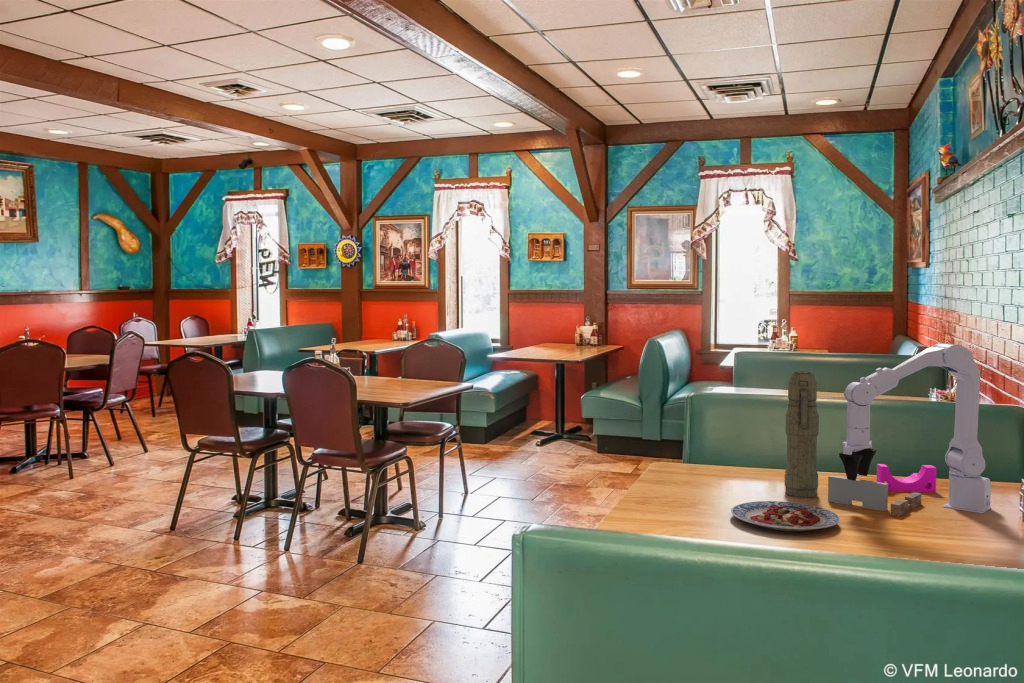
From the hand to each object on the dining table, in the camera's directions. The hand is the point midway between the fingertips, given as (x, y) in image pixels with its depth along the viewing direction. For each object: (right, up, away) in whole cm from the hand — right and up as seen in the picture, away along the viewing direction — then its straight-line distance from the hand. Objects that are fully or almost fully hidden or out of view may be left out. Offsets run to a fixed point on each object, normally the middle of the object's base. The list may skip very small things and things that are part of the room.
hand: (857, 477), depth 215 cm
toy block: (+22, -7, +18) cm, 29 cm away
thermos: (-11, -7, +12) cm, 18 cm away
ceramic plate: (-25, -9, -15) cm, 30 cm away
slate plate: (0, -8, 0) cm, 8 cm away
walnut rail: (+11, -8, -4) cm, 14 cm away
